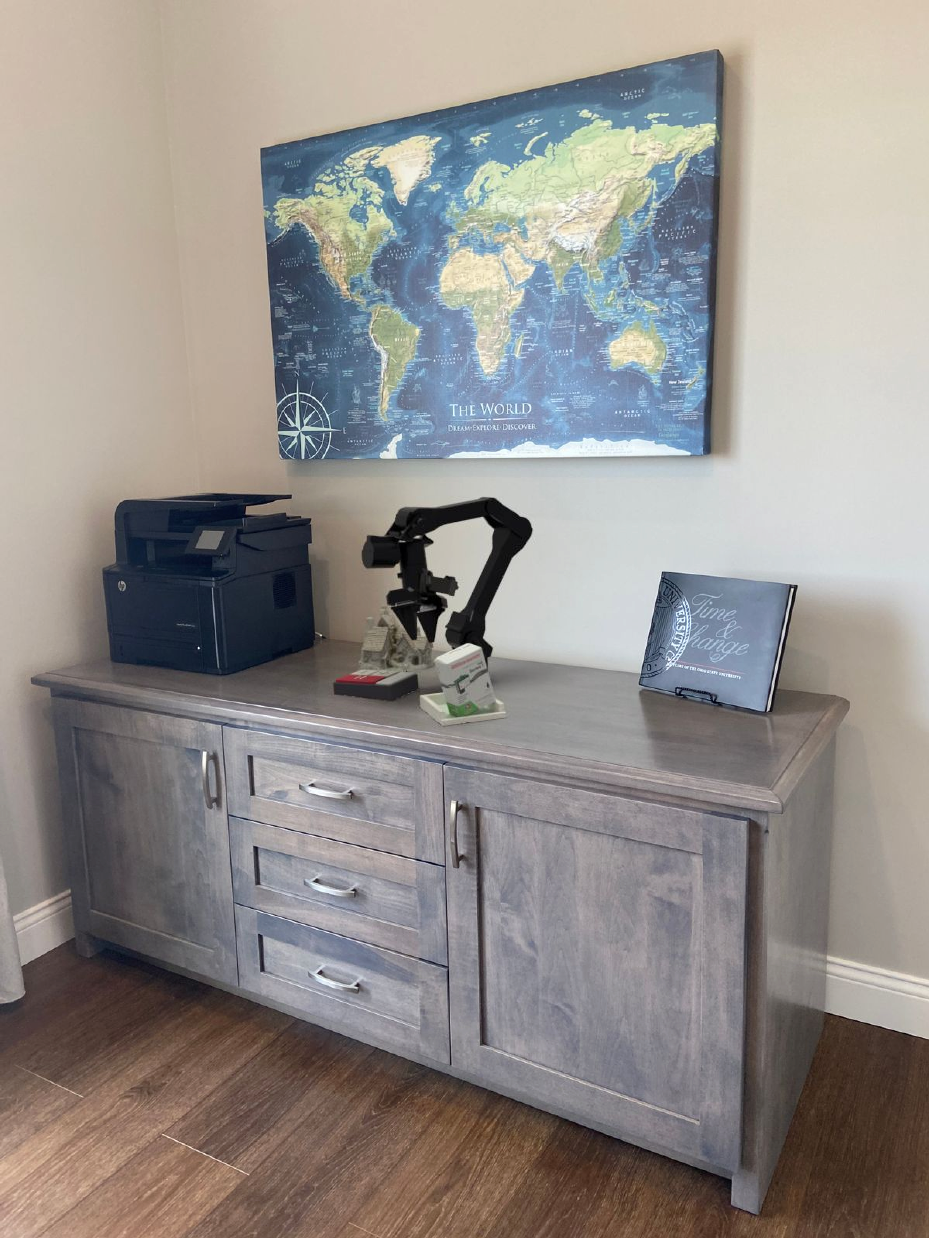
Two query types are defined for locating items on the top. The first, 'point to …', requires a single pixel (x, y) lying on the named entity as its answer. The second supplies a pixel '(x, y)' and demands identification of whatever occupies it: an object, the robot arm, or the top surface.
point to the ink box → (465, 680)
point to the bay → (440, 712)
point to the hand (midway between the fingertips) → (423, 641)
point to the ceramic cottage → (393, 647)
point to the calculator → (377, 684)
